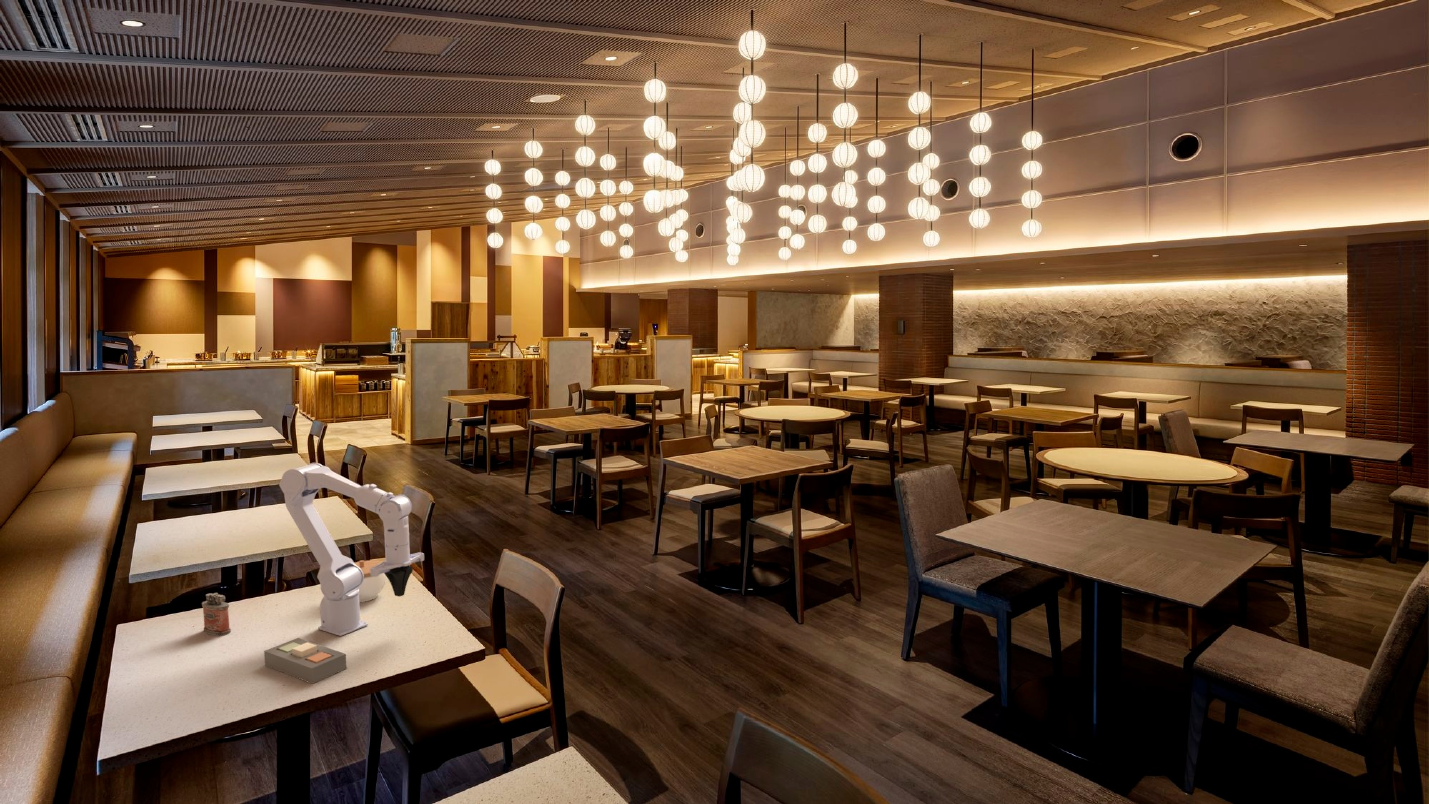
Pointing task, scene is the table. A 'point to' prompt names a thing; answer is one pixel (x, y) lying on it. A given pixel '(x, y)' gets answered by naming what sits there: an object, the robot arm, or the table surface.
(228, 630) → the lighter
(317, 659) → the terracotta key
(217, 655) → the table surface
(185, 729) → the table surface
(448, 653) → the table surface
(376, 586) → the lidded bowl
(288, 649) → the sage key
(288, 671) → the keypad
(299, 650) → the cream key
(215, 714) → the table surface
